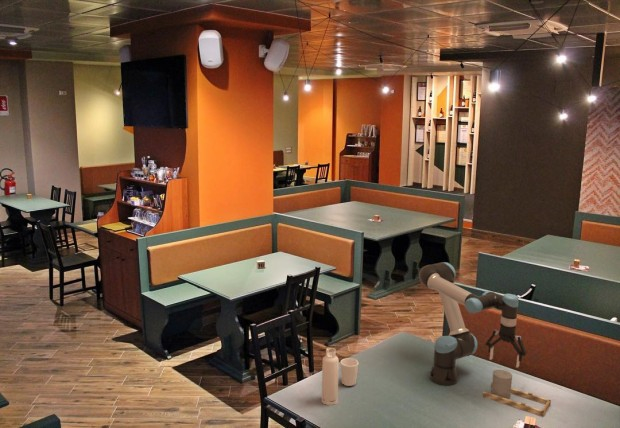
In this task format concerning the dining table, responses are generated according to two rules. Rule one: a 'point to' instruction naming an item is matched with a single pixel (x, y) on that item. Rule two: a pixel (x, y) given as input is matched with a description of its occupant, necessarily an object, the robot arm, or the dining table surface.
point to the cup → (349, 371)
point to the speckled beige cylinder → (501, 383)
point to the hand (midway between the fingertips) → (504, 362)
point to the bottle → (330, 377)
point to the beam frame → (522, 406)
